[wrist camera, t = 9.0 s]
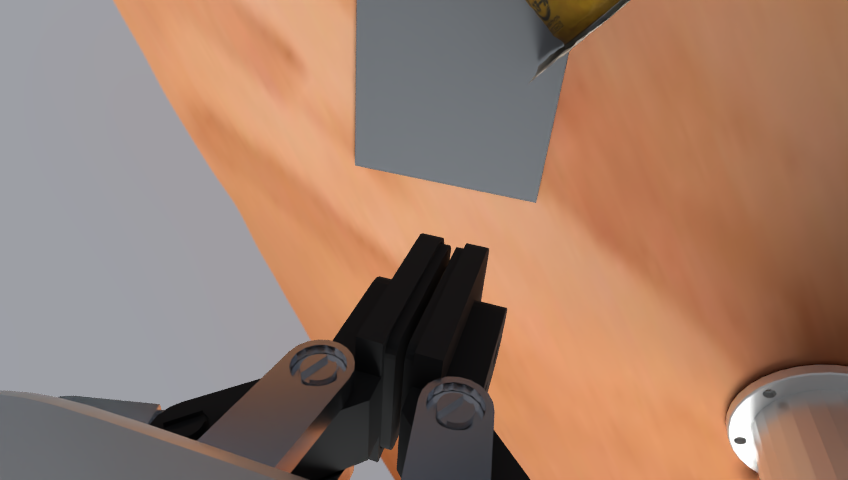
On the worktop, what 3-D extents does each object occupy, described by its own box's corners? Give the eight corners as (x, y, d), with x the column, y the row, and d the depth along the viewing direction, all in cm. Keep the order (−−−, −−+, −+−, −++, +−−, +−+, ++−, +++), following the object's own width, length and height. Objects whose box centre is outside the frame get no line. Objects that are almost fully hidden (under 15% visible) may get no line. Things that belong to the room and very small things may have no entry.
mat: (536, 199, 38) (535, 202, 38) (357, 162, 41) (355, 165, 41) (610, -138, 28) (610, -138, 27) (361, -156, 31) (358, -157, 30)
